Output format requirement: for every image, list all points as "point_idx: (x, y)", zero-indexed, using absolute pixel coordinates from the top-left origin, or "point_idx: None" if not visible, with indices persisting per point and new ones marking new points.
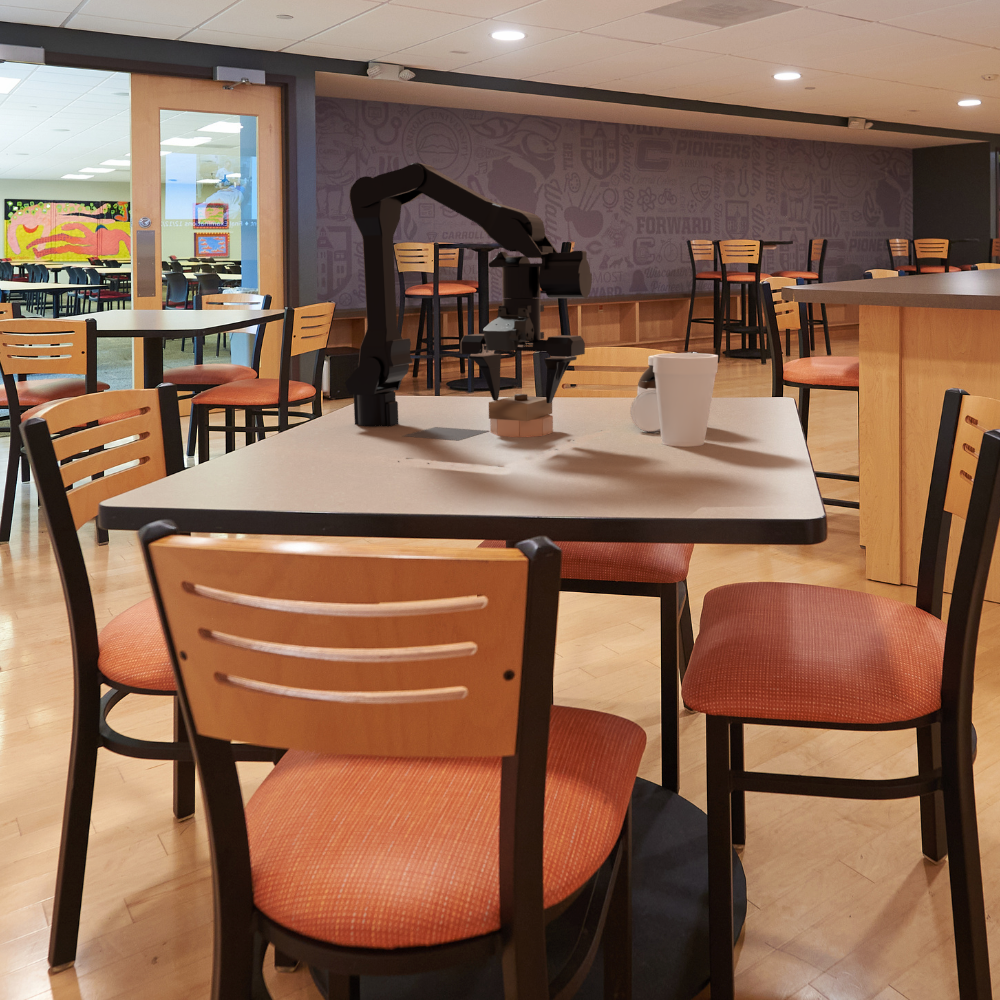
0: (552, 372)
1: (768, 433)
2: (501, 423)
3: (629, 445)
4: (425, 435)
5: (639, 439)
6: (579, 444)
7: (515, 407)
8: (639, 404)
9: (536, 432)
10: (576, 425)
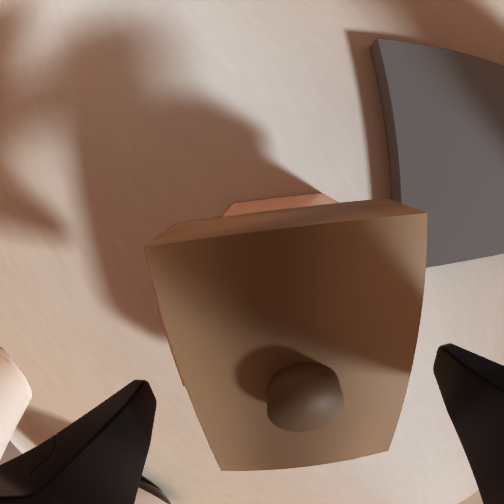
0: (17, 467)
1: (27, 449)
2: (317, 204)
3: (22, 323)
4: (499, 96)
5: (60, 390)
6: (84, 289)
7: (232, 230)
8: None
9: None
10: (270, 476)
